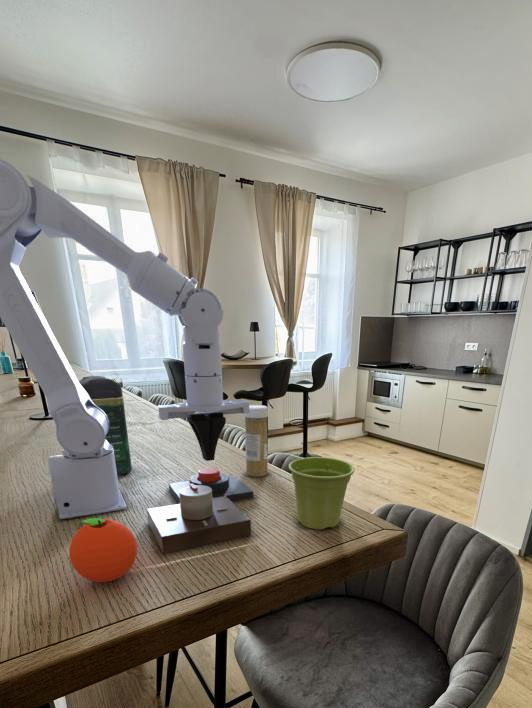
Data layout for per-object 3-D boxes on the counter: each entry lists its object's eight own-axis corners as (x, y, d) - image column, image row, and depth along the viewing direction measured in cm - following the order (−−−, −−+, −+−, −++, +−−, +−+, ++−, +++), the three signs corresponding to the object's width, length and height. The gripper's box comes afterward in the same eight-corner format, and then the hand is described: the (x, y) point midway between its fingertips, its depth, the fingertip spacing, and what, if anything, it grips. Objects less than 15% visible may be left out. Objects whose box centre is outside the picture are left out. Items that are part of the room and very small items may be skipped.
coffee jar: (137, 475, 81) (124, 377, 74) (94, 481, 77) (77, 379, 70) (125, 462, 89) (113, 373, 82) (86, 468, 85) (70, 374, 78)
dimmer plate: (163, 554, 52) (161, 535, 51) (148, 524, 60) (146, 507, 59) (251, 536, 57) (250, 518, 56) (226, 510, 65) (225, 494, 64)
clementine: (56, 579, 46) (43, 522, 44) (108, 554, 52) (100, 501, 49) (101, 602, 42) (90, 540, 40) (153, 572, 48) (146, 516, 45)
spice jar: (272, 474, 83) (272, 406, 78) (255, 479, 80) (254, 409, 75) (257, 469, 86) (257, 403, 81) (240, 473, 83) (238, 406, 78)
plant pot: (355, 514, 64) (359, 460, 61) (343, 540, 56) (348, 479, 53) (298, 506, 67) (299, 454, 64) (278, 529, 59) (279, 471, 56)
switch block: (183, 510, 65) (182, 492, 64) (169, 490, 73) (167, 474, 72) (253, 498, 70) (253, 481, 69) (232, 481, 78) (231, 466, 77)
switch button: (202, 484, 68) (201, 474, 68) (196, 478, 71) (195, 468, 71) (223, 481, 70) (222, 472, 69) (216, 475, 73) (215, 466, 72)
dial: (217, 516, 57) (216, 490, 55) (186, 522, 55) (183, 495, 53) (207, 505, 60) (206, 481, 59) (177, 510, 58) (175, 485, 57)
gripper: (162, 379, 58) (170, 471, 63) (256, 375, 64) (257, 459, 69) (152, 375, 64) (161, 459, 69) (239, 372, 70) (241, 450, 75)
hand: (208, 459), depth 69 cm, fingers closed
